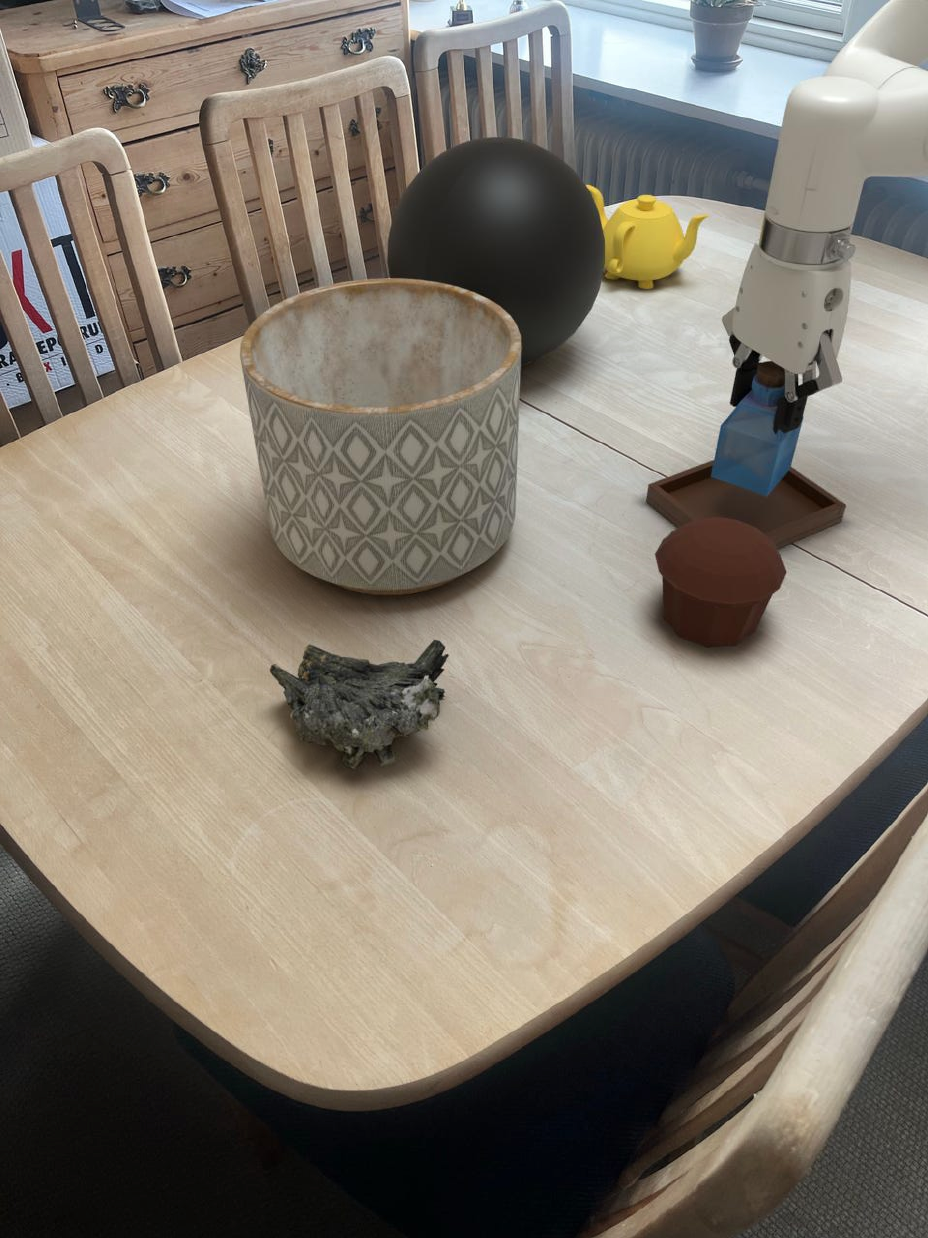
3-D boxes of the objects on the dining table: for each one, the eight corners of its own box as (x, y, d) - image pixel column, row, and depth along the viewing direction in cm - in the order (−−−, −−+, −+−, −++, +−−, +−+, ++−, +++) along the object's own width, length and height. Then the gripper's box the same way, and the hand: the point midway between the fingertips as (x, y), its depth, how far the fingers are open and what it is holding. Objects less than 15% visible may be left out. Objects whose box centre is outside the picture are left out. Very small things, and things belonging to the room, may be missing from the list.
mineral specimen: (450, 613, 90) (412, 583, 80) (478, 754, 86) (443, 739, 77) (297, 656, 93) (244, 632, 84) (318, 793, 89) (265, 784, 80)
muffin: (772, 587, 100) (794, 505, 93) (771, 665, 92) (795, 582, 85) (651, 570, 102) (664, 489, 95) (640, 645, 94) (653, 562, 87)
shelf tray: (753, 460, 116) (757, 443, 115) (841, 522, 108) (846, 504, 106) (645, 501, 111) (648, 484, 109) (729, 570, 102) (732, 552, 100)
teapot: (552, 276, 152) (556, 199, 145) (603, 243, 161) (609, 169, 153) (671, 312, 144) (682, 232, 136) (717, 275, 152) (731, 198, 144)
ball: (603, 317, 143) (622, 111, 124) (586, 417, 123) (606, 191, 105) (416, 303, 146) (408, 101, 128) (372, 399, 127) (354, 177, 108)
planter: (484, 451, 118) (485, 266, 103) (542, 592, 100) (555, 392, 85) (264, 479, 114) (232, 291, 99) (283, 631, 96) (248, 429, 81)
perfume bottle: (790, 467, 106) (817, 364, 98) (767, 496, 103) (792, 391, 94) (735, 449, 109) (756, 347, 101) (710, 476, 105) (730, 373, 97)
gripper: (910, 262, 85) (855, 446, 97) (768, 197, 96) (734, 370, 108) (845, 283, 82) (797, 469, 94) (707, 213, 93) (679, 388, 105)
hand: (764, 414), depth 101 cm, fingers closed on perfume bottle, 5 cm apart
